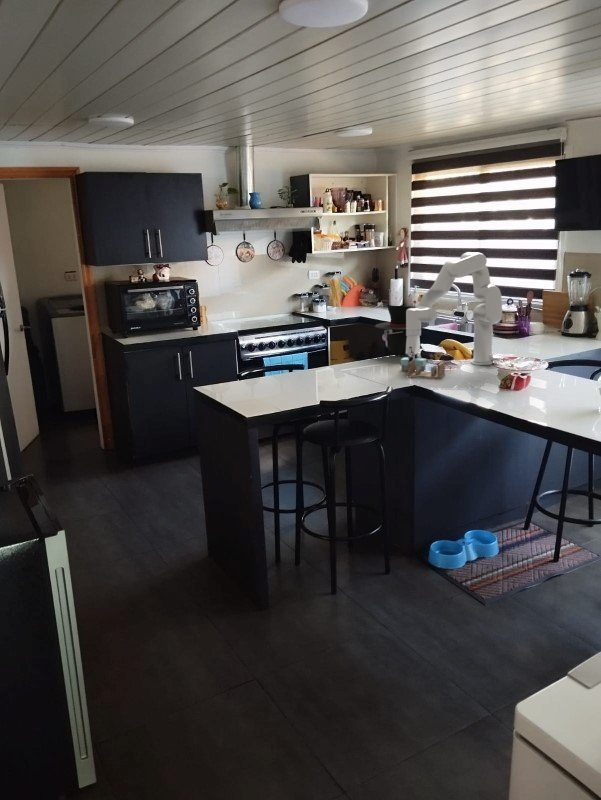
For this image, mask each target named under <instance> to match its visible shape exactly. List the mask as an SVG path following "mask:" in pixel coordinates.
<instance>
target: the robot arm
mask: <svg viewBox="0 0 601 800" xmlns="http://www.w3.org/2000/svg"><path fill="white" fill-rule="evenodd" d="M469 275H471V277H472V285H473V296H474V299H475V300H476V301H477V302H479V303H481V304H478V305H476V307H474V309H473V312H472V319H473V324H474V326H473V327H474V328H473V331H474V332H473V359H470V364H472V365H475V366H488V365H489V366H490V365H493V364H492V363H493V361H495V362H496V361H497V362H499V361H501V357H499V356H494V353H493V338H494V337H493V335H494V333H493V332H494V331H493V330H494V328H493V325H496V324H498V323H500V322H501V319H503V318H502V317H503V303H502V301H503V300H502V299H503V298H502V292H501V289H500V288H499V287H498V286H497V285H494V284H491V278H490V277H491V276H490V271H489V268H488V266H487V257H486V255H485V254H483V253H481V252H474V251H473V252H471V251H467V252H464V253H462V254H461V256H460V257H459V260H456V259H455V260H453V259H451V260H450V259H449V260H447V261H445V262H444V264H443V265H442V268H441V269H440V271H439V273H438V275H437V277H436V279H435V281H434V283H433V284H432V285H431V287H430V288H429V289H428V290H427V291H426V292H425V293H424V294H423V296H422V297H421V298H420V300H419V302H418V304H417V305H416V308H410V309H407V311H406V336H407V340H406V356H407V358H408V360H409V362H410V361H412V360H414V358H419V353H420V350H421V345H420V344H421V342H420V339H421V338H420V336H422V328H421V322H424V323H432V322H434V321H436V320H437V318H438V311H437V310H436V309H435V308H433V305H434V304H435V303H436V302H437V301H438V300H439V299H440V298H442V297H445V296H446V295H447V294H449V291H450V289H452V288H451V287H452V285H453V284H454V283H455V282H454V281H455V280H456V278H457V279H459V278H463V277H467V276H469Z"/></svg>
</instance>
